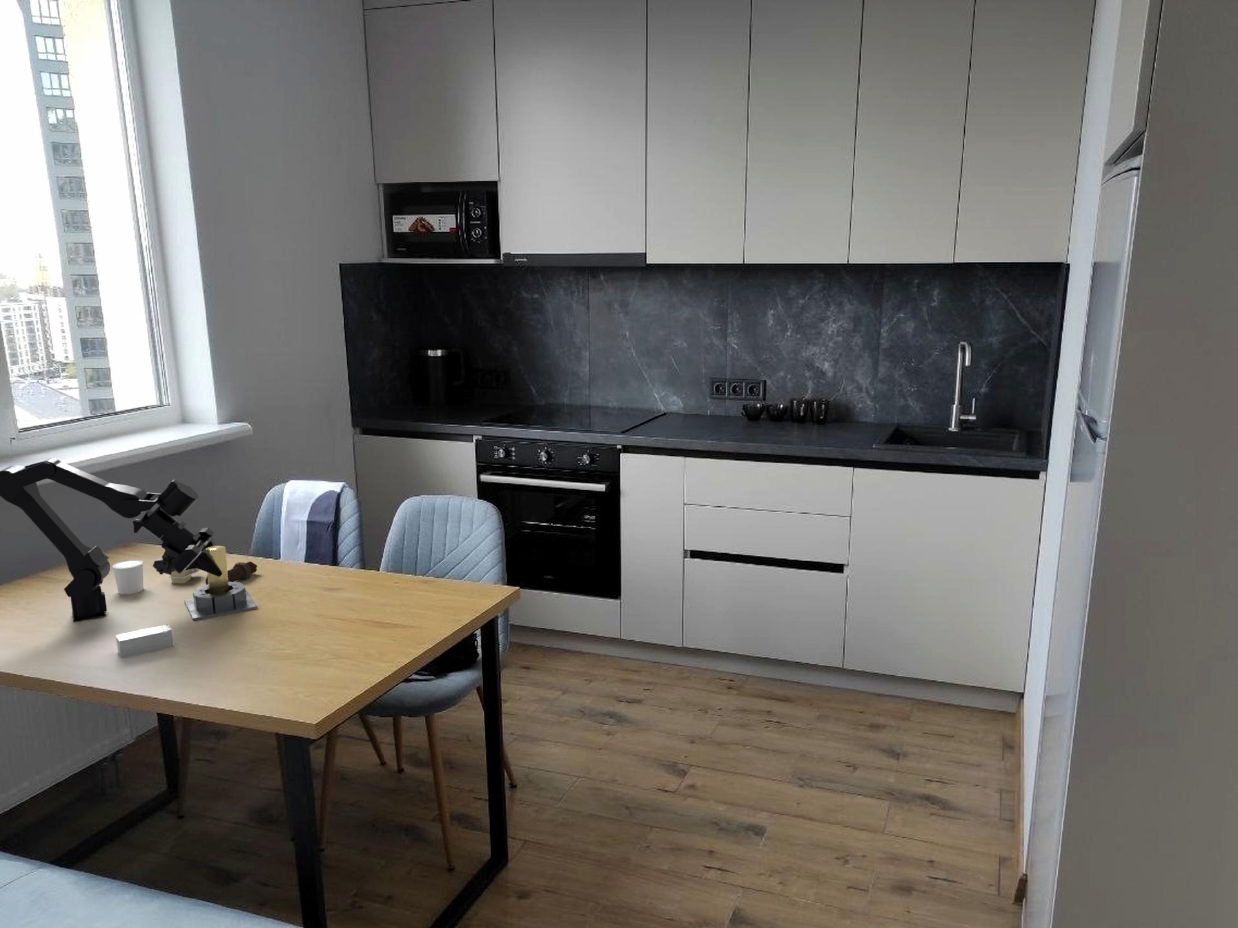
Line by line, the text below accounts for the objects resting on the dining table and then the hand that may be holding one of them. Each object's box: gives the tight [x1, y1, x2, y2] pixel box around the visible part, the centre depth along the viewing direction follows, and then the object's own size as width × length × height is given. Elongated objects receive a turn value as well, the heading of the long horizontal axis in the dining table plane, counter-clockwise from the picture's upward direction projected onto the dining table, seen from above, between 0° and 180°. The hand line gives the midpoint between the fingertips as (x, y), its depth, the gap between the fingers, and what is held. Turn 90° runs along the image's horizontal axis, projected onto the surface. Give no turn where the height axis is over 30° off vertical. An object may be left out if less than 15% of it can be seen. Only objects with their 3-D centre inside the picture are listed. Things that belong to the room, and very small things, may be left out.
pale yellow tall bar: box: [206, 545, 229, 594], centre depth 220 cm, size 4×4×12 cm
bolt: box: [205, 561, 258, 585], centre depth 237 cm, size 6×5×15 cm
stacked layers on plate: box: [168, 565, 201, 584], centre depth 240 cm, size 10×9×6 cm
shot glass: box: [112, 559, 144, 595], centre depth 232 cm, size 7×7×7 cm
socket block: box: [184, 581, 258, 622], centre depth 221 cm, size 14×14×4 cm
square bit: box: [115, 624, 175, 659], centre depth 196 cm, size 10×4×4 cm, turn 126°
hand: (223, 572), depth 220 cm, fingers closed on pale yellow tall bar, 4 cm apart
